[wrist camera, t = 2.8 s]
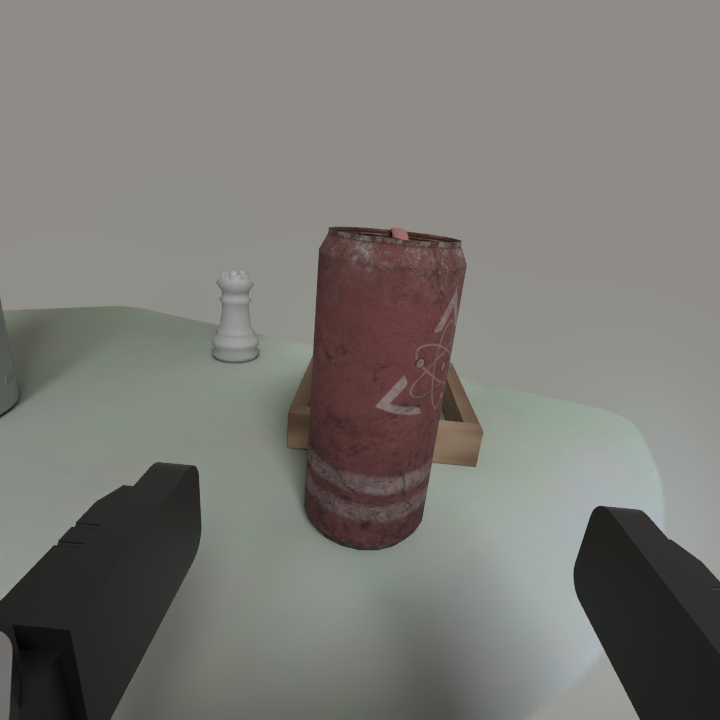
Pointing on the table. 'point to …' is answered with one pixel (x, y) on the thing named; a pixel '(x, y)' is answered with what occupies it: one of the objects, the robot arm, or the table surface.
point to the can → (378, 379)
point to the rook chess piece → (235, 320)
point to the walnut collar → (453, 436)
